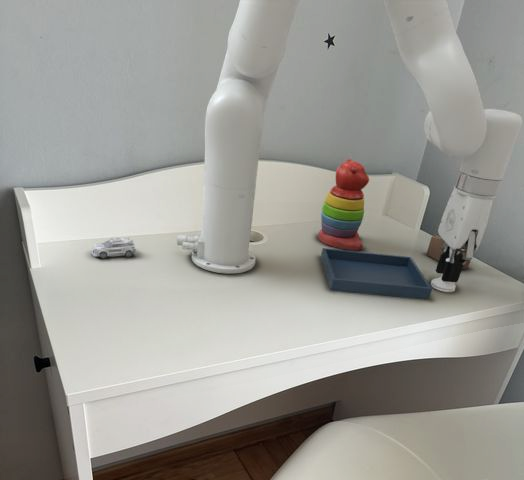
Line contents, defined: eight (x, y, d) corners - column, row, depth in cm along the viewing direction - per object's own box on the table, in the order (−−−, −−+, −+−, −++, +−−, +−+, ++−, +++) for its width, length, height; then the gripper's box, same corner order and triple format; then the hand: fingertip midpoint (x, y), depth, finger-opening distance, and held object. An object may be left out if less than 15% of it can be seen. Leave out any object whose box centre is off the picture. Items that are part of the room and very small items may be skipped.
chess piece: (456, 294, 102) (473, 246, 97) (431, 289, 103) (446, 241, 97) (453, 284, 106) (469, 237, 101) (429, 279, 107) (444, 233, 101)
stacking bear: (363, 252, 115) (382, 170, 106) (318, 247, 115) (334, 164, 105) (356, 235, 125) (373, 158, 115) (315, 230, 124) (329, 153, 114)
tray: (330, 290, 97) (332, 279, 96) (320, 258, 110) (322, 247, 108) (428, 299, 99) (432, 288, 97) (408, 266, 111) (411, 256, 110)
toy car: (90, 251, 99) (89, 236, 97) (132, 249, 102) (132, 235, 100) (93, 259, 96) (92, 244, 94) (136, 257, 99) (136, 242, 98)
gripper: (443, 171, 100) (416, 259, 110) (474, 195, 86) (440, 294, 96) (480, 175, 101) (450, 262, 111) (516, 200, 87) (479, 297, 97)
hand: (446, 276), depth 103 cm, fingers open, 3 cm apart
